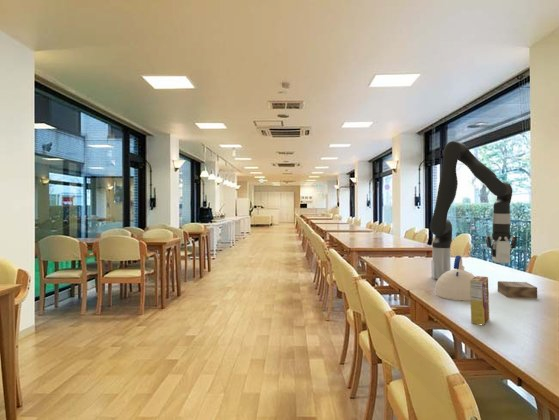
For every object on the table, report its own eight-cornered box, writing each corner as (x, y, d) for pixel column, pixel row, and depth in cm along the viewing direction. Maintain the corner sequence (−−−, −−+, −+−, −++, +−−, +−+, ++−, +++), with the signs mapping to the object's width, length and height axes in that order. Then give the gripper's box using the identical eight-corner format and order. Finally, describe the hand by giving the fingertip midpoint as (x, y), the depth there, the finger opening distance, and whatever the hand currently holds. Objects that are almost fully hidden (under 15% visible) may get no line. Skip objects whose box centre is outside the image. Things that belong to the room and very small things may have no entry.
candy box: (476, 317, 139) (476, 275, 139) (489, 319, 136) (489, 276, 136) (469, 323, 132) (469, 279, 132) (483, 325, 129) (483, 280, 129)
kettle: (485, 293, 177) (485, 254, 176) (482, 303, 159) (482, 260, 158) (438, 288, 187) (437, 251, 187) (431, 297, 169) (430, 257, 169)
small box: (510, 263, 184) (510, 241, 184) (497, 263, 185) (497, 241, 185) (504, 260, 192) (504, 240, 192) (491, 260, 193) (492, 239, 193)
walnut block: (506, 297, 168) (506, 286, 168) (497, 291, 180) (497, 281, 180) (537, 299, 166) (537, 287, 166) (526, 292, 177) (526, 282, 177)
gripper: (513, 222, 191) (513, 256, 191) (482, 222, 193) (482, 255, 193) (520, 223, 184) (520, 258, 184) (488, 223, 186) (488, 257, 186)
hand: (500, 256), depth 189 cm, fingers closed on small box, 5 cm apart
